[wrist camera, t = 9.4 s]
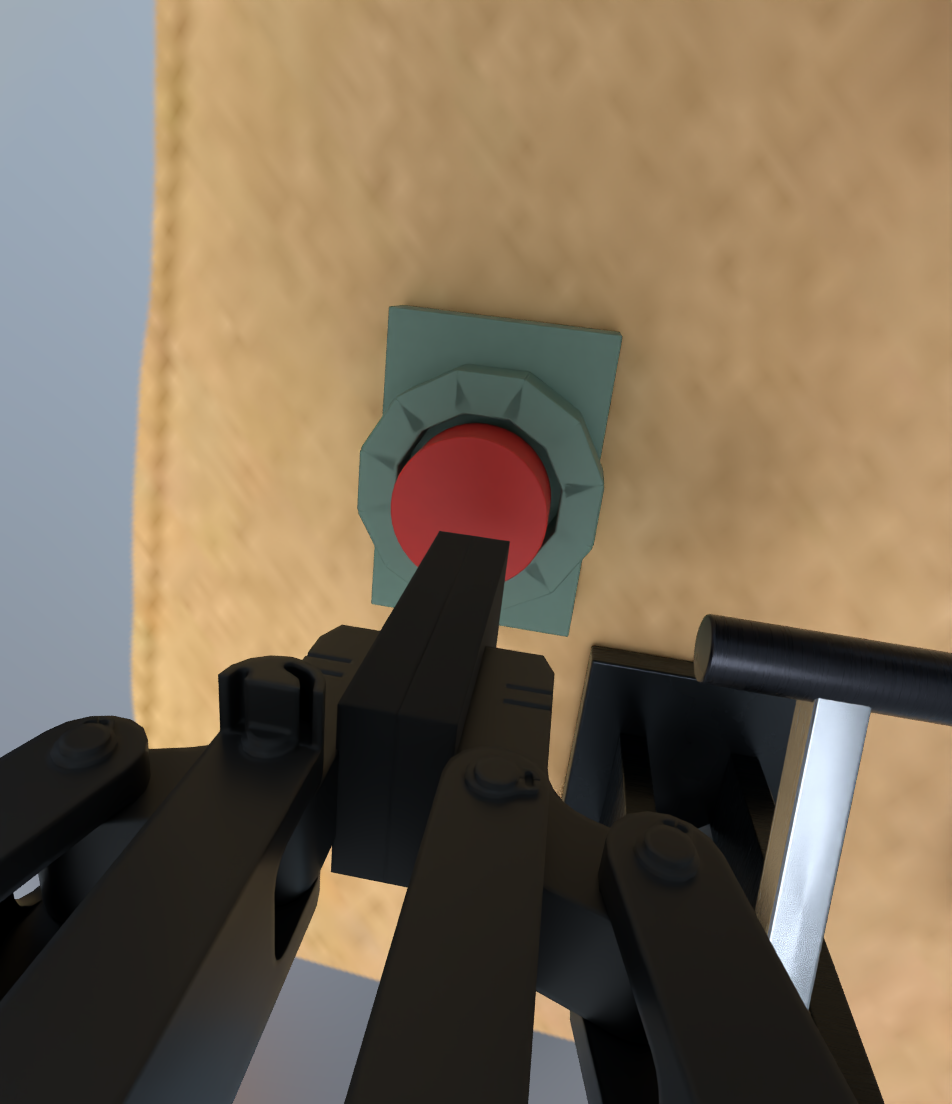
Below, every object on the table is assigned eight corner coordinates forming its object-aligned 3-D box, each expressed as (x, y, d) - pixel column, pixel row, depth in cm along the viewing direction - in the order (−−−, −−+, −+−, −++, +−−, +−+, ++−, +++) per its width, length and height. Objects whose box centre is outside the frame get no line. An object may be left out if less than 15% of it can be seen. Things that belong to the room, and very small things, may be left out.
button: (413, 413, 20) (395, 425, 19) (561, 433, 20) (559, 449, 18) (402, 551, 22) (385, 575, 20) (539, 572, 22) (535, 600, 20)
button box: (397, 304, 22) (366, 307, 19) (625, 332, 22) (631, 340, 18) (380, 584, 26) (350, 626, 23) (573, 616, 25) (571, 664, 22)
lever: (696, 604, 16) (722, 625, 13) (955, 646, 15) (1031, 675, 13) (600, 1135, 17) (608, 1241, 14) (835, 1191, 16) (884, 1311, 14)
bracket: (591, 644, 26) (598, 1049, 12) (814, 681, 25) (1092, 1161, 11) (551, 850, 29) (521, 1340, 16) (743, 888, 29) (888, 1438, 15)
